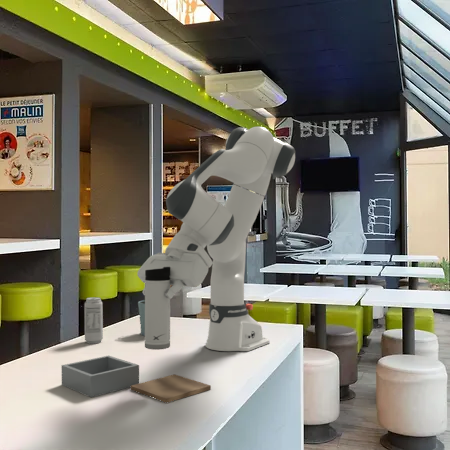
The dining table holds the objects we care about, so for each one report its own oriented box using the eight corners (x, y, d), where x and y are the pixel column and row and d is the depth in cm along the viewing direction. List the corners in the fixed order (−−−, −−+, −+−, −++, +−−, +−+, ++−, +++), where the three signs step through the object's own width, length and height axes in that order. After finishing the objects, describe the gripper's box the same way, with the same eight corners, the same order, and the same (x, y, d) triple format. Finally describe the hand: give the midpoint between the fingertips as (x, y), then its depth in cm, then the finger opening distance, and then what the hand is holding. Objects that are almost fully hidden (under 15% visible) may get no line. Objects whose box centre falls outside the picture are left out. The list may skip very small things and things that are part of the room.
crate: (108, 373, 151) (108, 355, 150) (139, 384, 141) (139, 365, 141) (61, 384, 141) (61, 365, 141) (90, 397, 131) (90, 376, 131)
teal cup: (171, 333, 204) (171, 300, 204) (154, 338, 195) (153, 304, 195) (150, 330, 209) (150, 298, 209) (132, 334, 201) (132, 302, 200)
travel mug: (160, 351, 132) (160, 267, 132) (139, 347, 136) (139, 266, 136) (176, 346, 137) (176, 266, 138) (155, 343, 141) (156, 265, 141)
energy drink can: (105, 340, 192) (104, 297, 192) (99, 344, 186) (99, 299, 186) (88, 339, 193) (88, 297, 193) (82, 343, 187) (81, 299, 187)
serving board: (174, 378, 146) (174, 374, 146) (210, 389, 136) (210, 385, 136) (130, 389, 136) (130, 385, 136) (166, 403, 126) (166, 398, 126)
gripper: (148, 245, 149) (121, 285, 141) (206, 246, 136) (179, 290, 128) (161, 260, 152) (134, 300, 145) (218, 263, 139) (192, 307, 132)
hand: (156, 295), depth 136 cm, fingers closed on travel mug, 6 cm apart
